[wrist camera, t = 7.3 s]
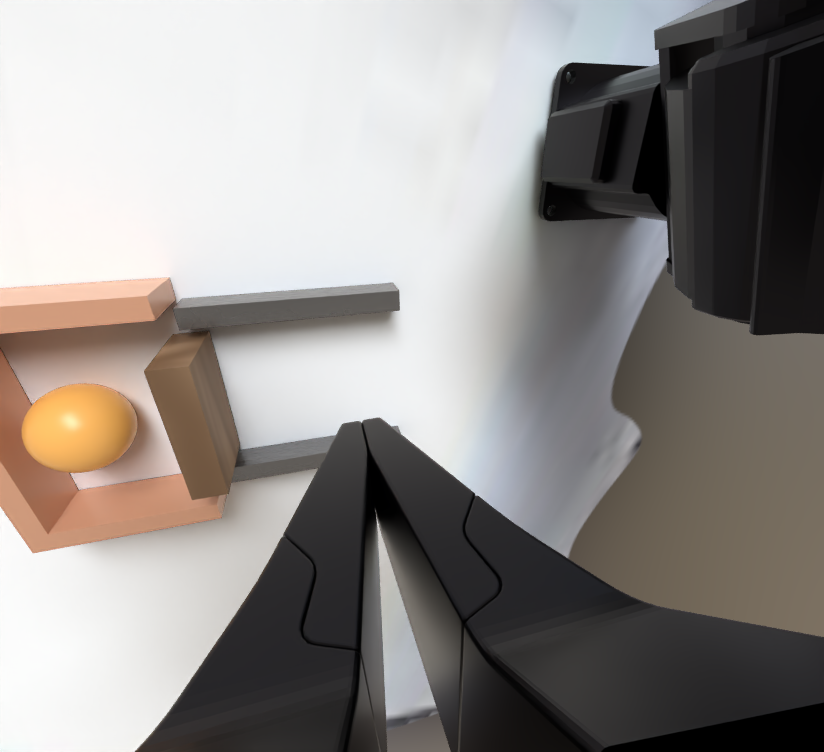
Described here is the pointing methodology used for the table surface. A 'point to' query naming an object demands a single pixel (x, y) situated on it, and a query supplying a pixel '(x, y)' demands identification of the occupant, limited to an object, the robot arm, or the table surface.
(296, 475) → the table surface
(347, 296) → the track
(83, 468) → the ball
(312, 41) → the table surface
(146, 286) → the pocket
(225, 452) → the brown wooden block
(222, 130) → the table surface
